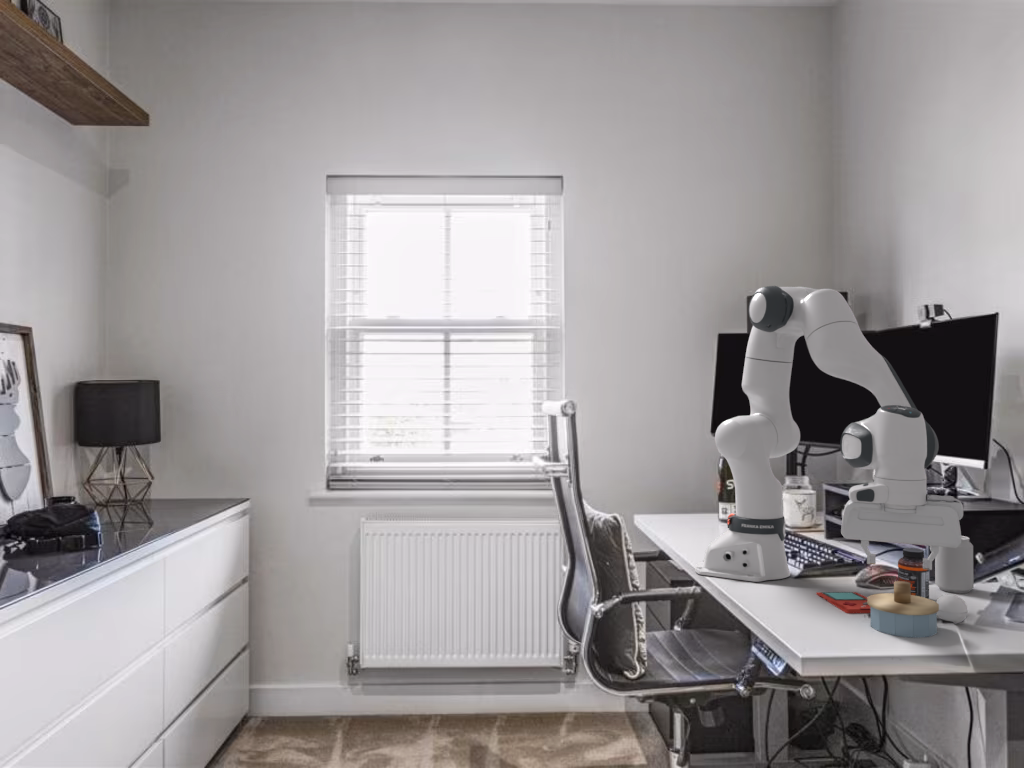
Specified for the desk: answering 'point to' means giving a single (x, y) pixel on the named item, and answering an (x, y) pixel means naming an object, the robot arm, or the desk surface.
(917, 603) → the lid
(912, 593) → the supplement bottle
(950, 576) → the can
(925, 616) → the bowl
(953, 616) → the white rounded lump
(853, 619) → the desk surface
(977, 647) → the desk surface
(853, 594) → the handheld gaming console
